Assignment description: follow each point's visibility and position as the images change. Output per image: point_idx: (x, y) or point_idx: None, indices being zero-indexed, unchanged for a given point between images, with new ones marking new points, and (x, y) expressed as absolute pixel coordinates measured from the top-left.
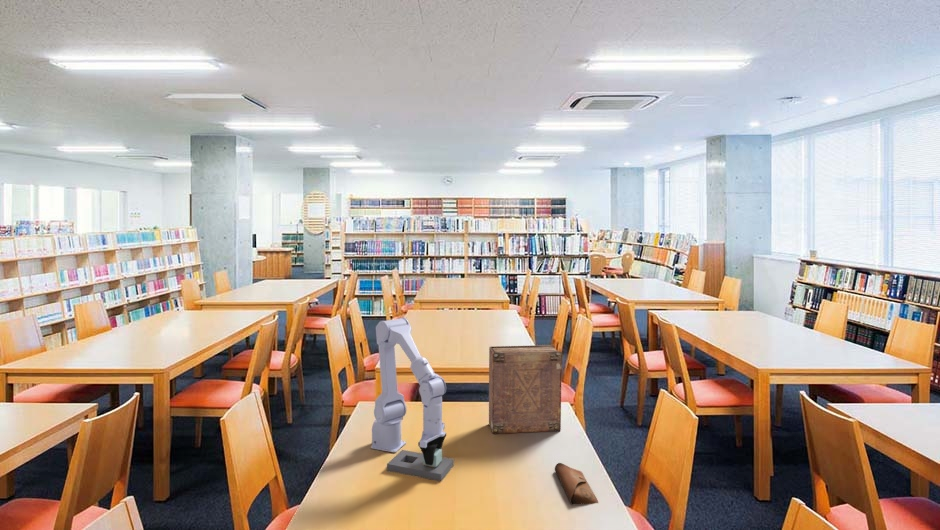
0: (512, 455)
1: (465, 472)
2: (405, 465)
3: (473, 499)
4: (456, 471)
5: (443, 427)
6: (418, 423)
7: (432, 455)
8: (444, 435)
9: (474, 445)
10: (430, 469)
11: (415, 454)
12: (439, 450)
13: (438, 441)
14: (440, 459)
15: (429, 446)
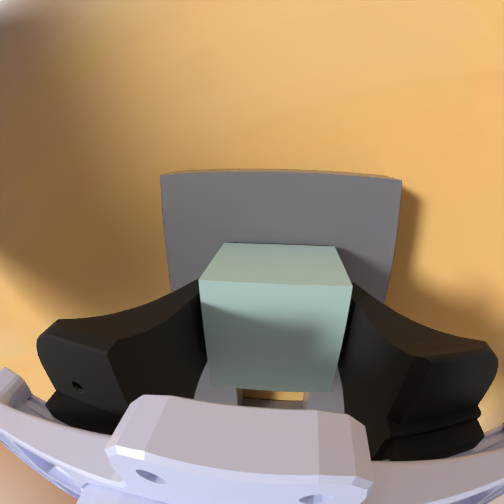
0: (40, 10)
1: (228, 72)
2: (339, 398)
3: (450, 3)
4: (236, 126)
5: (6, 392)
6: (34, 388)
7: (399, 316)
8: (265, 411)
9: (7, 175)
10: (359, 273)
11: (213, 395)
12: (230, 295)
13: (169, 362)
14: (251, 250)
15: (479, 401)
